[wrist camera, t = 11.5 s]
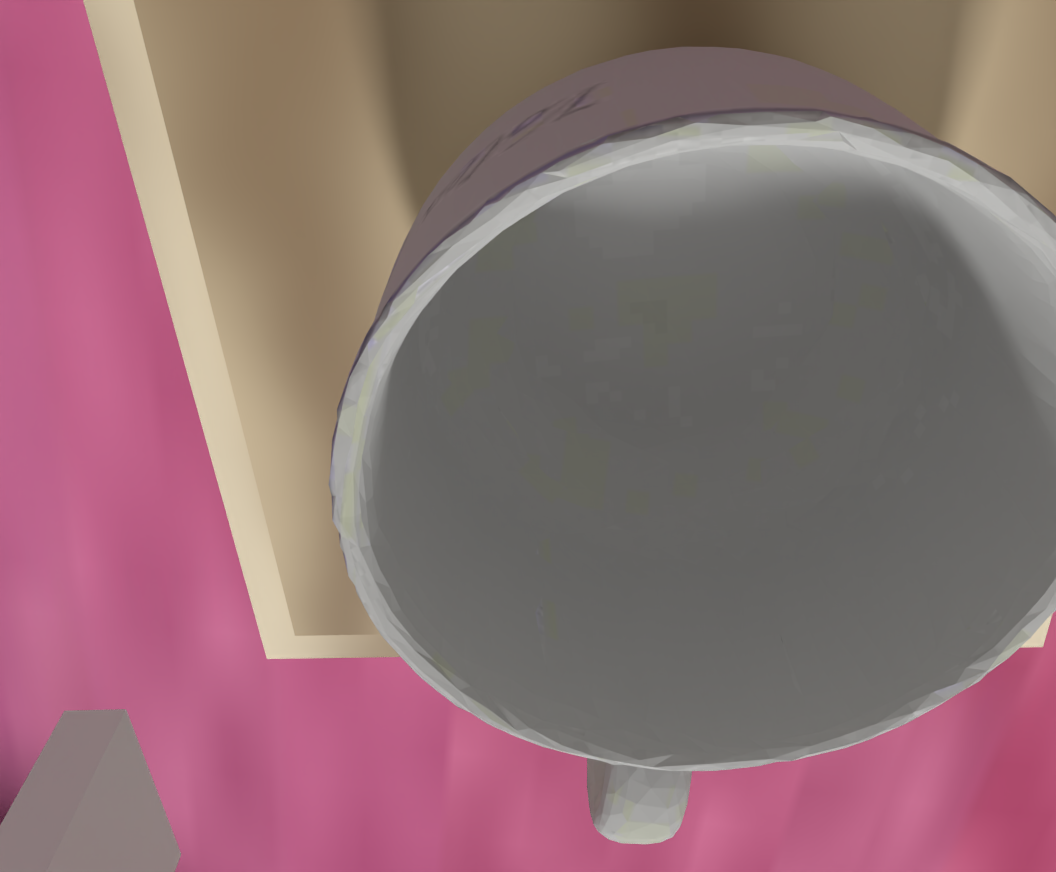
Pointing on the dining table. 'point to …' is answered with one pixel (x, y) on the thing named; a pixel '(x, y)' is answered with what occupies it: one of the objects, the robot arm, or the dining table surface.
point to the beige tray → (411, 175)
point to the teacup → (705, 424)
